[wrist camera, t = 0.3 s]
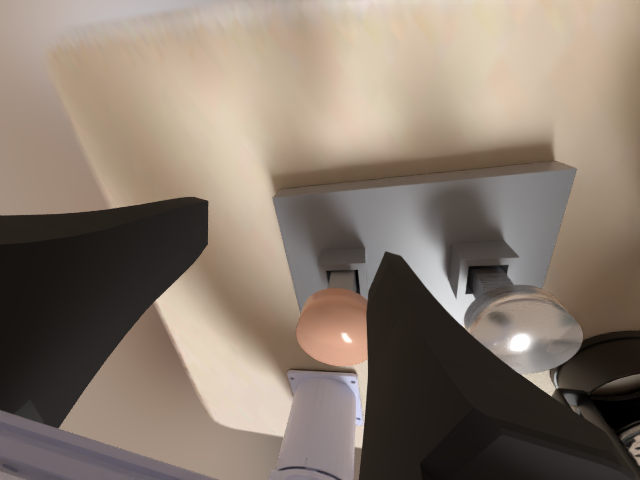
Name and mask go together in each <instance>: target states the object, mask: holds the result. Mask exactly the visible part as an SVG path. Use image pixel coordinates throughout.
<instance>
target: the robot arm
mask: <svg viewBox="0 0 640 480" xmlns="http://www.w3.org/2000/svg"><path fill="white" fill-rule="evenodd" d="M207 245H208V201H206V200H203V199H199V198H196V197H184V198H177V199H170V200H164V201H158V202H153V203H147V204H141V205H135V206H128V207H121V208H114V209H107V210H99V211H90V212H80V213H66V214H47V215H13V216H12V215H10V216H0V480H218V479H215V478H212V477H209V476H205V475H203V474H199V473H196V472H193V471H190V470H187V469H184V468H181V467H177V466H174V465H171V464H168V463H165V462H162V461H159V460H155V459H152V458H149V457H146V456H142V455H139V454H136V453H133V452H130V451H127V450H124V449H121V448H118V447H114V446H111V445H108V444H105V443H102V442H99V441H96V440H92V439H89V438H86V437H83V436H80V435H76V434H73V433H70V432H67V431H64V430H61V429H58V428H59V427H60V425H61V424H62V422H63V421H64V419H65V418H66V416H67V415H68V413H69V412H70V410H71V409H72V407H73V405H74V404H75V403H76V401H77V400H78V398H79V397H80V395H81V394H82V393H83V391H84V390H85V388H86V387H87V386H88V384H89V383H90V381H91V380H92V379H93V377H94V376H95V374H96V373H97V372H98V370H99V369H100V368H101V366H102V365H103V364H104V362H105V361H106V359H107V358H108V357H109V356H110V354H111V353H112V352H113V350H114V349H115V348H116V347H117V345H118V344H119V343H120V341H121V340H122V339H123V337H124V336H125V335H126V334H127V332H128V331H129V330H130V329H131V328H132V326H133V325H134V324H135V323H136V322H137V320H138V319H139V318H140V317H141V316H142V314H143V313H144V312H145V311H146V310H147V309H148V308H149V307H150V306H151V305H152V303H153V302H154V301H155V300H156V299H157V298H159V297H160V296H161V295H162V294H163V293H164V292H165V291H166V290H167V289H168V288H169V287H170V286H171V285H172V284H173V283H174V282H175V281H176V280H177V279H178V278H179V277H180V276H181V275H182V274H183V273H184V272H185V271H186V270H187V269H188V268H189V267H190V266H191V265H192V264H193V263H194V262H195V261H196V259H197V258H198V257H199V256H200V254H201V253H202V252H203V250H204V249H205V247H206V246H207ZM366 322H367V351H368V384H367V398H366V411H365V423H364V434H363V444H362V455H361V465H360V474H359V480H638V479H637V477H636V475H635V474H634V472H633V471H632V469H631V468H630V467H629V465H628V464H627V462H626V461H625V459H624V458H623V456H622V455H621V453H620V452H619V451H618V449H617V448H616V446H615V445H614V443H613V442H612V440H611V439H610V437H609V436H608V435H607V434H606V432H605V431H604V430H602V429H601V428H599V427H597V426H596V425H594V424H593V423H591V422H590V421H588V420H587V419H585V418H584V417H582V416H581V415H579V414H577V413H576V412H574V411H573V410H571V409H570V408H568V407H567V406H565V405H564V404H562V403H561V402H559V401H557V400H556V399H554V398H553V397H551V396H550V395H548V394H547V393H545V392H544V391H543V390H541V389H540V388H538V387H537V386H536V385H534V384H533V383H532V382H530V381H529V380H527V379H526V378H525V377H523V376H522V375H520V374H519V373H518V372H516V371H515V370H514V369H512V368H511V367H510V366H508V365H507V364H506V363H505V362H503V361H502V360H501V359H500V358H498V357H497V356H496V355H495V354H493V353H492V352H491V351H490V350H489V349H487V348H486V347H485V346H484V345H483V344H481V343H480V342H479V341H478V340H477V339H476V338H474V337H473V336H472V335H471V334H470V333H469V332H468V331H467V330H466V329H465V328H464V327H463V326H462V325H461V324H459V323H458V322H457V321H456V320H455V319H454V318H453V317H452V316H451V315H450V314H449V313H448V312H447V311H446V309H445V308H444V307H443V306H442V305H441V304H440V303H439V302H438V301H437V299H436V298H435V297H434V296H433V295H432V294H431V293H430V291H429V290H428V289H427V288H426V286H425V285H424V284H423V283H422V281H421V280H420V279H419V278H418V276H417V275H416V274H415V273H414V271H413V270H412V269H411V267H410V266H409V265H408V264H407V262H406V261H405V260H404V259H403V257H402V256H400V255H397V254H393V253H390V252H386V251H385V253H384V256H383V258H382V260H381V263H380V265H379V267H378V270H377V272H376V275H375V277H374V279H373V282H372V284H371V286H370V289H369V292H368V301H367V311H366ZM287 376H288V379H289V383H290V386H291V389H292V392H293V395H294V399H293V402H292V406H291V410H290V414H289V418H288V422H287V426H286V430H285V434H284V438H283V443H282V446H281V450H280V454H279V458H278V462H277V466H276V470H271V471H270V474H269V478H268V480H353V472H354V471H353V470H354V449H355V426H356V425H358V426H361V425H363V414H362V406H361V399H360V391H359V384H358V376H357V375H356V374H354V373H339V372H319V371H300V370H289V371H288V373H287ZM6 473H7V474H6ZM9 474H10V475H9ZM12 475H13V476H12ZM15 476H16V477H15ZM18 477H19V478H18ZM21 478H22V479H21Z"/></svg>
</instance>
